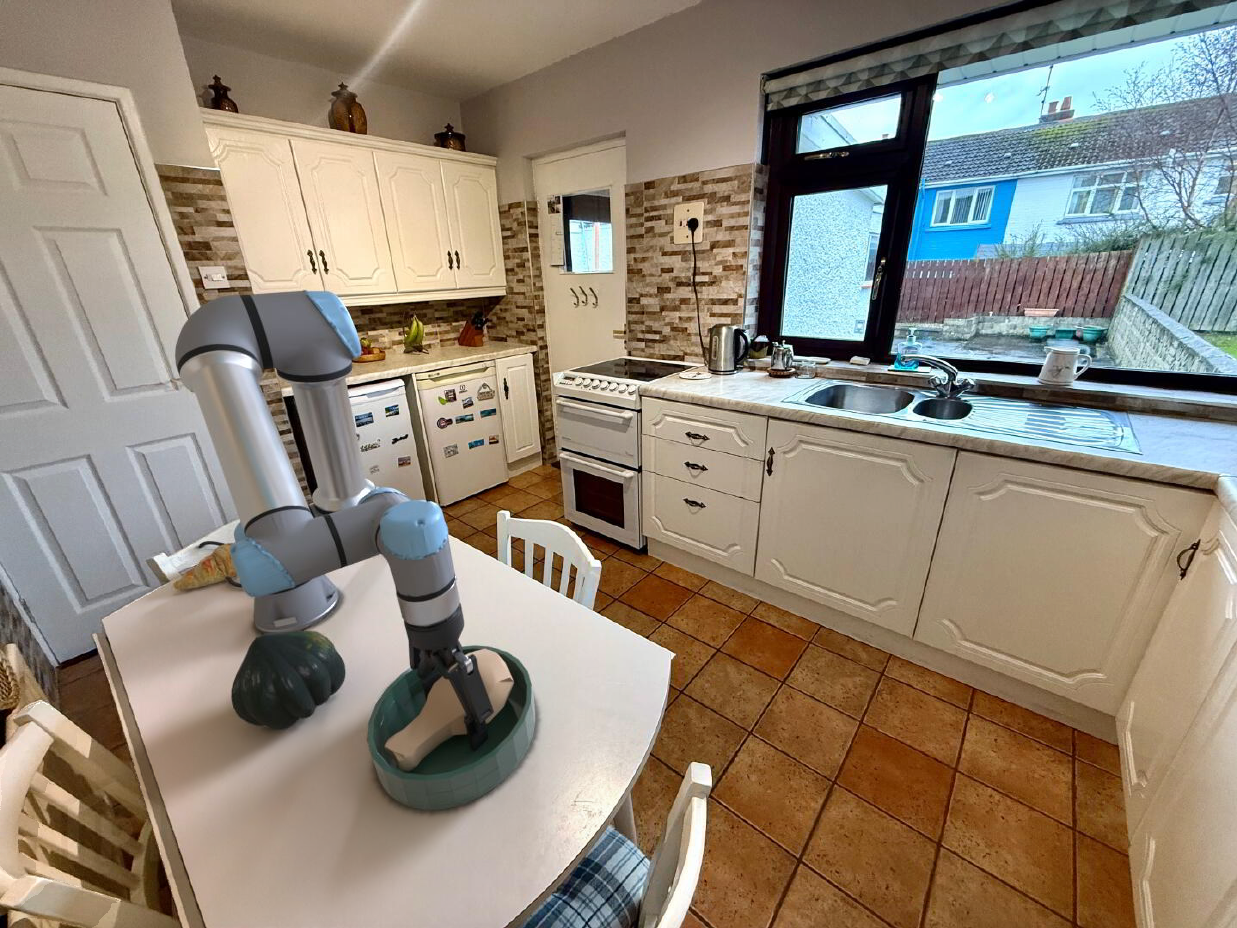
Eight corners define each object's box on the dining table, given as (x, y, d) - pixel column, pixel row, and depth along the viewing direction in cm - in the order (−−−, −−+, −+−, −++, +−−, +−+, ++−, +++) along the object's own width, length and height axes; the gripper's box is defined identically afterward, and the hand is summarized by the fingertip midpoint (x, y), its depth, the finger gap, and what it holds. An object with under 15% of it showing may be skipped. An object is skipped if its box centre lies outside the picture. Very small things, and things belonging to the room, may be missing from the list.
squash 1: (359, 686, 77) (318, 603, 79) (249, 753, 68) (205, 656, 70) (353, 690, 88) (317, 617, 90) (257, 748, 79) (219, 665, 80)
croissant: (187, 610, 109) (181, 590, 104) (164, 581, 112) (156, 560, 107) (286, 561, 125) (285, 542, 120) (264, 537, 128) (261, 517, 123)
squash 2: (530, 698, 80) (525, 667, 74) (420, 804, 67) (405, 775, 62) (489, 659, 85) (482, 627, 80) (381, 749, 73) (364, 719, 68)
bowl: (347, 745, 74) (336, 717, 71) (474, 651, 91) (469, 626, 88) (436, 849, 60) (427, 819, 58) (566, 716, 77) (563, 689, 75)
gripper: (508, 628, 63) (525, 746, 71) (411, 568, 75) (436, 674, 84) (459, 664, 57) (484, 787, 66) (364, 593, 70) (396, 703, 79)
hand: (457, 724), depth 75 cm, fingers closed on squash 2, 10 cm apart
